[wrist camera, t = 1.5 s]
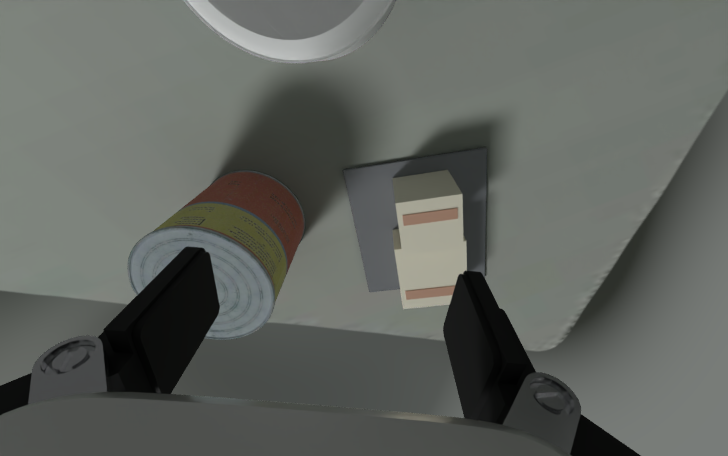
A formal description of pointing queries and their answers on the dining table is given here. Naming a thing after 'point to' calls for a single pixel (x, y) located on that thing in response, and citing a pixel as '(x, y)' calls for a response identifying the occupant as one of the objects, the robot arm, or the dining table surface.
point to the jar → (294, 26)
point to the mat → (379, 215)
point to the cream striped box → (428, 275)
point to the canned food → (231, 246)
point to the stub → (429, 212)
